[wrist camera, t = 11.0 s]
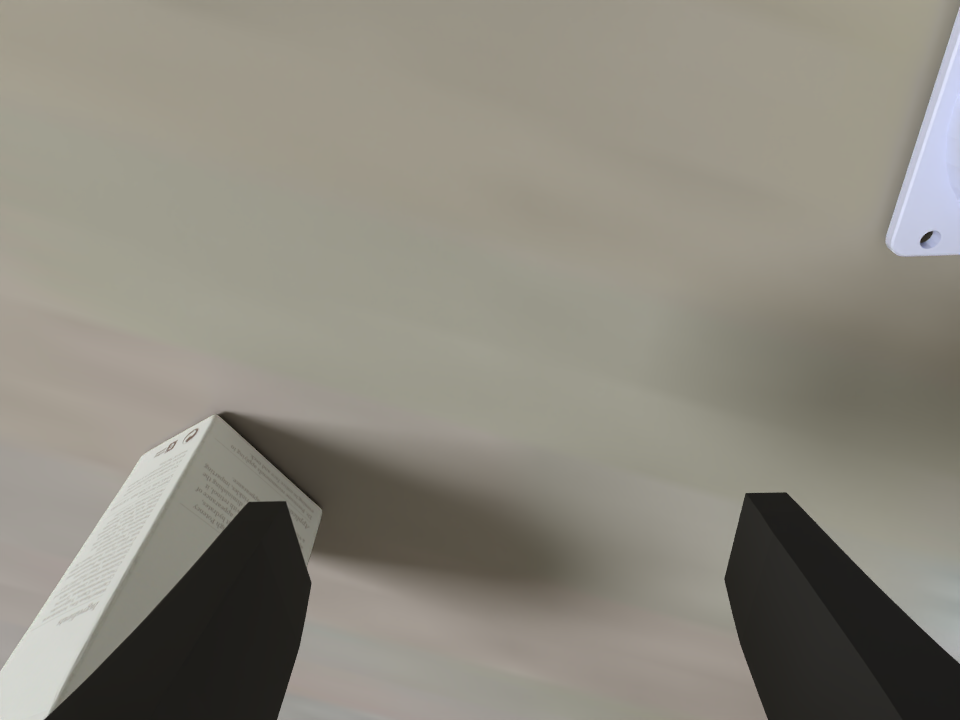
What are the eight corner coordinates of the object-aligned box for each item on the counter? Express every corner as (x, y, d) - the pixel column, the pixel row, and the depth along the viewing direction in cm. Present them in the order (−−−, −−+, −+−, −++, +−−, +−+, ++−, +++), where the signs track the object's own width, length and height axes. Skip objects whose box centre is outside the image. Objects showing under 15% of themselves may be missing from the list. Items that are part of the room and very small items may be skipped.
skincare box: (140, 452, 24) (-130, 830, 14) (223, 403, 22) (-11, 787, 12) (255, 547, 27) (100, 918, 17) (337, 509, 25) (220, 893, 15)
